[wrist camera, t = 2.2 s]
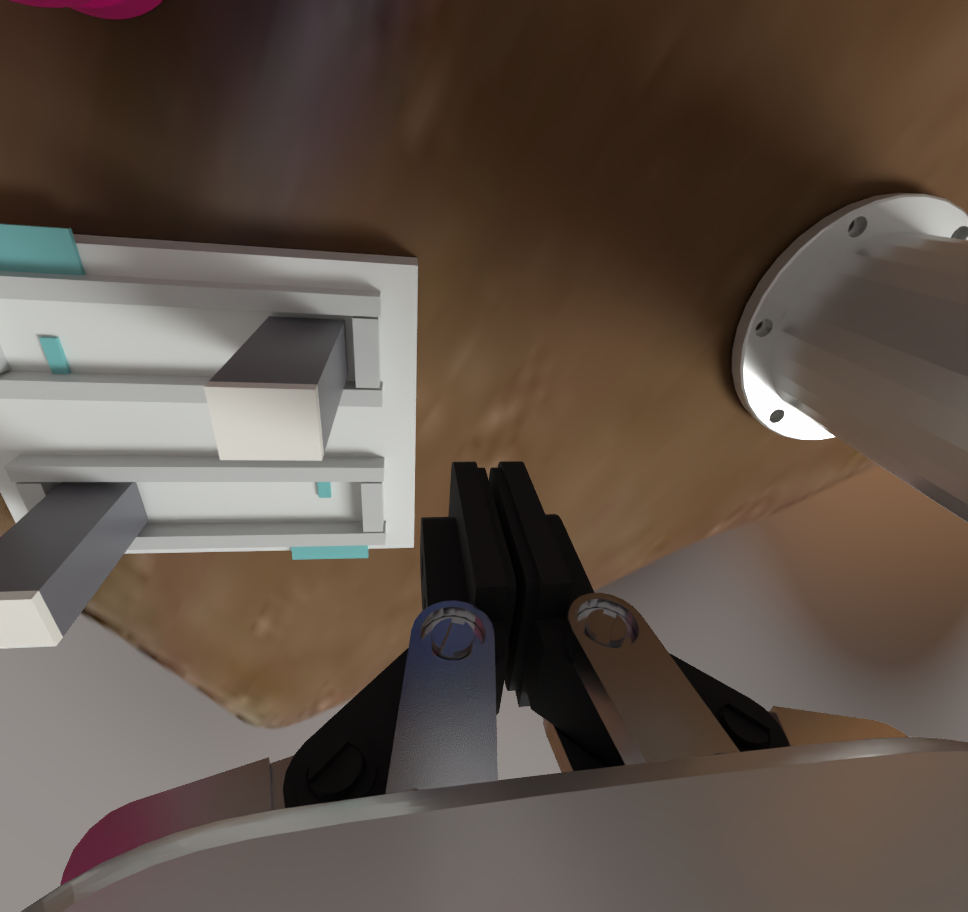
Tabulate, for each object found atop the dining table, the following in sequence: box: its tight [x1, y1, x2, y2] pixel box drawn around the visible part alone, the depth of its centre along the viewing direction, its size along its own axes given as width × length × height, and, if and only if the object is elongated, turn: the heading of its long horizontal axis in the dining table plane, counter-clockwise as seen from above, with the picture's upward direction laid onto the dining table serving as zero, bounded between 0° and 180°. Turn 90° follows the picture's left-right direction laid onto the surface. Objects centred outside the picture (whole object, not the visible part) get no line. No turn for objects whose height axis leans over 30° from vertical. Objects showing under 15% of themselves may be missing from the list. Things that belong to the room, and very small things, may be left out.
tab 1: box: [0, 482, 148, 649], centre depth 20 cm, size 3×2×7 cm
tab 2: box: [204, 316, 348, 461], centre depth 18 cm, size 3×2×7 cm
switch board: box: [0, 223, 418, 560], centre depth 23 cm, size 19×16×3 cm
